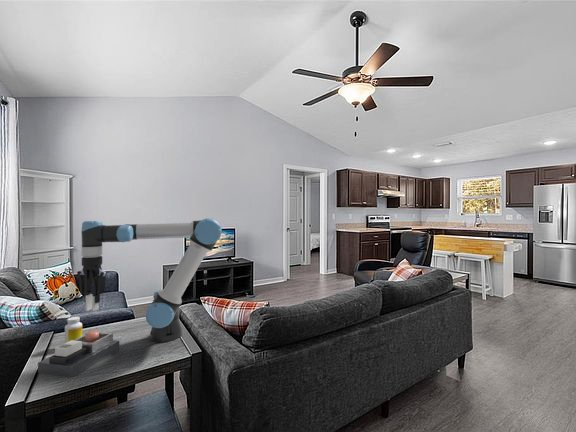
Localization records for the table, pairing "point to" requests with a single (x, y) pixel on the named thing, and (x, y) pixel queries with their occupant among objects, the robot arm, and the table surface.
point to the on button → (68, 348)
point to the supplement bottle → (73, 329)
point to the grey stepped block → (80, 357)
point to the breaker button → (91, 336)
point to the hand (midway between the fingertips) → (92, 309)
